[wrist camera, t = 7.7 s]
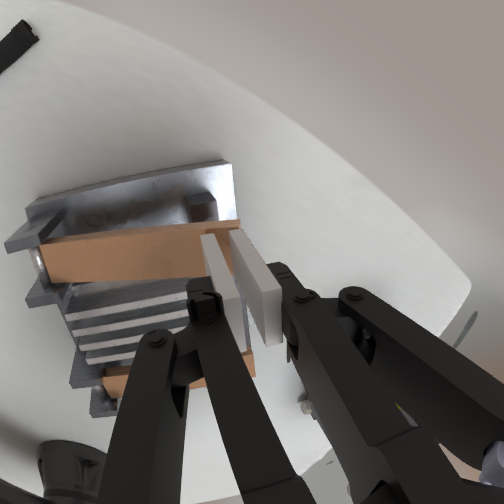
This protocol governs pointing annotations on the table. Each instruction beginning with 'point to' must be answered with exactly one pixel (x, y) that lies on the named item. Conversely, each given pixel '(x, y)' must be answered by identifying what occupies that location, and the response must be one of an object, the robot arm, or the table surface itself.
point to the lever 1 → (135, 253)
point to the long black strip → (16, 43)
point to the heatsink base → (118, 216)
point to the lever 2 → (118, 375)
